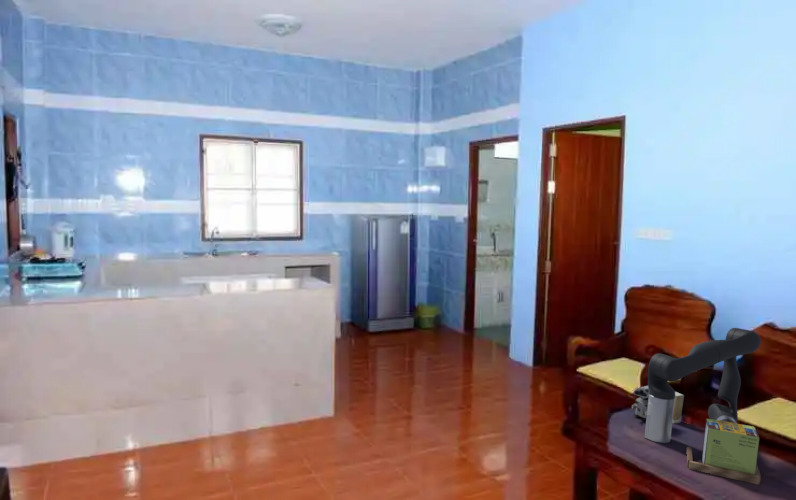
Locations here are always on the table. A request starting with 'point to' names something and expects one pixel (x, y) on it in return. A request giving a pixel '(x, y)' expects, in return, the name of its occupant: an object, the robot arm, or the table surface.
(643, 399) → the figurine
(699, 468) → the display bay
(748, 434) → the protein box
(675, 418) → the skincare box
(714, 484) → the table surface
